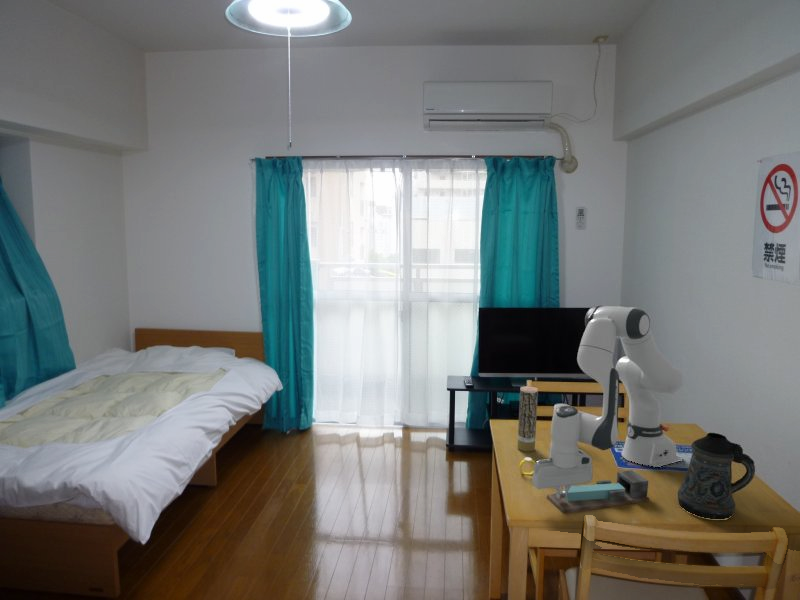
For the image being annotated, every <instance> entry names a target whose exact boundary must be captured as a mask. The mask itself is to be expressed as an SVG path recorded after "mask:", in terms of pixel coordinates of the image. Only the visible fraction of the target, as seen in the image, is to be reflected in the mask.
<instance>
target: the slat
mask: <svg viewBox="0 0 800 600" xmlns="http://www.w3.org/2000/svg"><path fill="white" fill-rule="evenodd" d="M563 488H564V486H562V489H563ZM617 490H624V497H625V488H624V487H623V486H622V485H620V484H619V483H617V482H616V483H615V482H614V483H612V482H611V484H583V485H581V484H580V485H571V488H570V489H569V491H568V492H567V497H566V498H565V499H566V500H567V501H578V500H592V499H607V498H609V491H617Z"/></svg>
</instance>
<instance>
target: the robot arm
mask: <svg viewBox="0 0 800 600" xmlns="http://www.w3.org/2000/svg"><path fill="white" fill-rule="evenodd" d="M584 325H585V330H584V332H583V333H582V334H583V335H582V337H581V340H580V343H579V347H578V350H577V351H578V352H577V357H576V361H577V365H578V366H579V368H580V370H582V372H583V373H584V374H585V375H587V376H589V377H590V378H592V379H593V380H594V381H596V382H598V384H599V385H600V386H601V388H602V391H603V397H602V398H603V399H602V413H601V414H602V415H601V416H598V415H595V414H591V413H587V412H584V411H582V410H581V411H580V410H578V408H576V407H574V406H572V405H569V406H560V407H558V408H556V409H555V411H554V410H553V415H552V418H551V425H550V438H551V442H550V444H549V458H545V459H538V460H537V461H536V462H535V464H534V463H533V470H534V472H533V475H532V478H531V483H532V485H533V486H534V487H535V488H536V489H537V490H543V489H551V488H553V489H554V490H555V494H556V497H557V498H558V499H559V498H566V497H567V492H568V491H569V489H570V488H571V486H576V485H581V484H583V485H584V484H588V483H591V482H592V481H593V477H594V475H593V473H594V469H593V464H592V462H593V458H592V456H590V455H589V454H588V453H586V452H585V451H583V450H582V449H579V444H578V443H582V444H585V445H589V446H592V447H593V448H596V449H599V450H601V451H606V450H609V449H611V448H613V447H615V445H616V444H617V442H618V440H619V403H620V402H619V401H620V381H621V383H622V384H623V386H624V388H625V390H626V393H627V396H628V397H627V398H628V400H629V401H628V402H629V405H628V406H629V408H628V409H629V410H628V411H629V412H628V419H627V423H626V438H625V442H624V446H623V448H622V451H621V457H623V458H624V459H625V460H627V461H629V462H631V461H632V463H634V462H635V464H637V463H638V465H642V464H643V466H648V465H649V466H648V467H651V466H653V468H655V467H660V468H662V467H661V466H663V465H667V464H670V463H672V462H675V461H678V460H681V459H680V458H681V457H682V456H681V457H678V456H676V455H680V454H679V453H678V452H677V445H676V443H675V442H674V441H673V440H672V439H671V438H670V437H669V436H667V435H666V434H665V433H664V432H668V431H669V430H670V427H669V426H668V425H666V424H663V425H662V424H661V417H662V415H661V414H662V406H661V403H660V401H659V400H658V399H657V398H656V397H655V396H654V395H653V393H652V391H653V392H656V393H660V394H668V395H674V394H676V393H678V392H679V391H680V390H681V389H682V388H683V385H684V380H685V379H684V374H683V372H682V371H681V370H680V369H679V368H678V367H677V366H675V365H674V364H672V363H671V362H670V361H669V360H668V359H667V358H666V357H665V356H664V355H663V353H662V352H661V351H660V349H659V348H658V345H657V342H656V340H655V337H654V335H653V332H652V328H651V319H650V316H649V315H648V314H647V313H646V311H645V310H642V309H641V308H638V307H634V306H633V307H632V306H631V307H626V306H619V305H617V306H613V305H611V306H609V305H608V306H606V305H596V306H595V305H594V306H591V308H589V309H588V311H587V312H586V314H585V317H584ZM617 339H620V342H621V345H622V348H623V351H624V354H625V356H622V357H621V358H619V359H618V360H617V362H616V364H615V366H614V361H613V360H614V359H613V357H614V353H615V349H616V342H617ZM663 431H664V432H663ZM667 466H668V465H667ZM663 467H664V466H663ZM563 487H564V488H563ZM561 488H562V490H561Z"/></svg>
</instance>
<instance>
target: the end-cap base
mask: <svg viewBox="0 0 800 600" xmlns="http://www.w3.org/2000/svg"><path fill="white" fill-rule="evenodd" d="M616 472H617V474H616V483H619V484H620V485H622V486H623V487H624V488H625V497H624V490H617V491H609V498H607V499H592V500H578V501H567V500H566V499H565V498H559V499H558V498H557V497H556V493H551V494H546V498H547V499H548V501H550V502H551V503H552V504H553V505H554V506H555V507H556V508H557V509H558V510H559V511H560V512H561V513H562V514H565V513H573V512H579V511H587V510H593V509H599V508H607V507H614V506H621V505H627V504H628V505H629V504H634V503H635V502H636V503H642V502H641V501H643V502H648V501H647V500H649V501H650V497H649V496H648V492H649V491H648V488H649V480H648V479H646V478H645V477H643V476H642V475H641V474H639V473H637V472H636V471H635V470H633V469H631V470H623V471H622V470H621V471H616ZM596 484H612V481H611V480H610V479H606V480H599V481H596ZM596 484H595V485H596Z"/></svg>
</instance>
